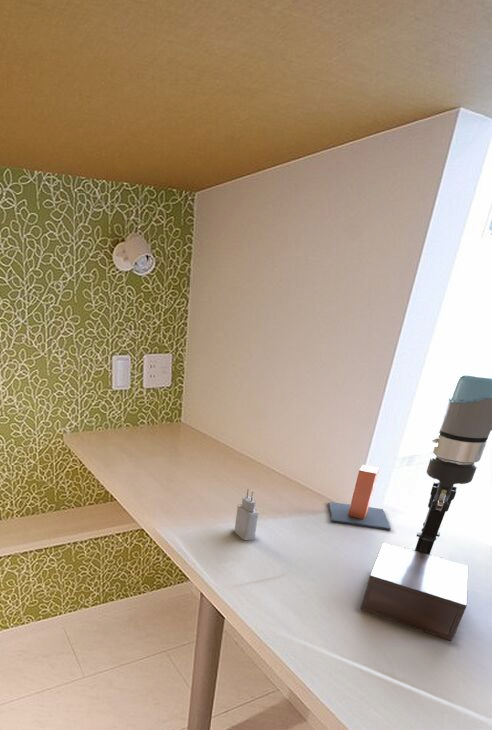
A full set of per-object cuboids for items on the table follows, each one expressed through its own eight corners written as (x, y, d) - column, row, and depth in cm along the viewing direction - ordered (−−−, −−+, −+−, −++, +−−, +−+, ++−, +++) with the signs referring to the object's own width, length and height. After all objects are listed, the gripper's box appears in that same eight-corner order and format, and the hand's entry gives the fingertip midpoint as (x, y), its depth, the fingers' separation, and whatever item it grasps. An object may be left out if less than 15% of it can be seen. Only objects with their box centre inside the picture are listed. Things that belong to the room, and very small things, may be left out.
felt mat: (382, 510, 121) (382, 509, 120) (390, 530, 110) (390, 528, 110) (328, 503, 125) (329, 501, 124) (331, 521, 114) (331, 519, 114)
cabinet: (374, 573, 93) (383, 542, 89) (455, 598, 85) (468, 566, 82) (360, 608, 82) (370, 575, 79) (451, 641, 74) (466, 605, 71)
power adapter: (244, 540, 104) (251, 495, 99) (233, 530, 109) (238, 486, 104) (255, 538, 105) (262, 493, 100) (244, 528, 110) (249, 485, 105)
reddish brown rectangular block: (351, 509, 120) (363, 464, 115) (367, 512, 118) (379, 467, 112) (347, 515, 116) (359, 470, 111) (364, 519, 114) (376, 473, 109)
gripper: (434, 446, 90) (402, 545, 100) (428, 463, 80) (394, 570, 90) (478, 454, 86) (441, 555, 96) (478, 472, 76) (436, 583, 86)
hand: (418, 562), depth 93 cm, fingers closed
